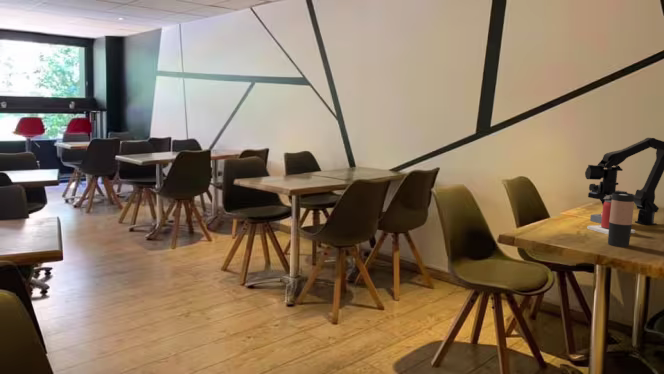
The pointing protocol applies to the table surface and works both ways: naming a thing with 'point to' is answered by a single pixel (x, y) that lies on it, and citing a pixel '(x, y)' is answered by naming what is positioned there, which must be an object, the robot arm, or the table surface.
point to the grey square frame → (596, 218)
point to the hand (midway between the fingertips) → (606, 212)
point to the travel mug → (621, 219)
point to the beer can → (606, 214)
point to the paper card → (602, 229)
